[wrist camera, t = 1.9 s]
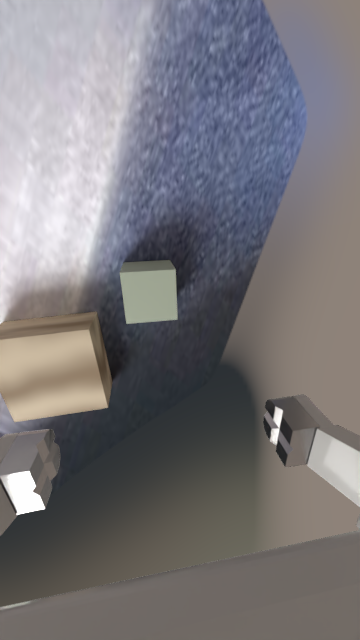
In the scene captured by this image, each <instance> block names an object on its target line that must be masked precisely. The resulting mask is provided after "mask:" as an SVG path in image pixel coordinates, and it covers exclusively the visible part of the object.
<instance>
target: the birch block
mask: <svg viewBox="0 0 360 640" xmlns="http://www.w3.org/2000/svg"><path fill="white" fill-rule="evenodd" d="M111 387H112V378H111V373H110V369H109V364H108V360H107V355H106V351H105V346H104V342H103V337H102V333H101V328H100V324H99V319H98V315H97V311H96V312H87V313H78V314H69V315H60V316H51V317H42V318H32V319H23V320H14V321H5V322H2V323H1V324H0V392H1V394H2V397H3V399H4V401H5V403H6V405H7V407H8V409H9V411H10V413H11V416H12V418H13V420H14V422H19V421H25V420H32V419H38V418H45V417H51V416H57V415H64V414H70V413H77V412H83V411H90V410H96V409H103V408H108V404H109V399H110V393H111Z"/></svg>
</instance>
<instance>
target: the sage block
mask: <svg viewBox="0 0 360 640" xmlns="http://www.w3.org/2000/svg"><path fill="white" fill-rule="evenodd" d="M120 279H121V286H122V294H123V301H124V309H125V316H126V324H130V323H142V322H154V321H165V320H177V293H176V269H175V268H174V266H173V264H172V263H171V261H170V260H159V261H141V262H123V265H122V268H121V271H120Z"/></svg>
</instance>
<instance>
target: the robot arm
mask: <svg viewBox="0 0 360 640" xmlns="http://www.w3.org/2000/svg"><path fill="white" fill-rule="evenodd" d="M265 408H266V409H267V411H268V412H267V413H266V414H265V416H264V421H263V423H264V429H265V432H266V435H267V436H268V438H269V440H270V441H271V442H272V443H274V444H275V445H277V446H276V452H277V454H278V456H279V458H280V459H281V461H282V463H283V464H284V466H285V467H291V466H298V465H305V464H307V466H308V467H310V468H311V469H312V470H313V471H315V472H316V473H317V474H319V475H320V476H321V477H322V478H323V479H325V480H326V481H327V482H329V483H330V484H331V485H332V486H334V487H335V488H336V489H337V490H339V491H340V492H341V493H343V494H344V495H345V496H347V497H348V498H349V499H350V500H351V501H353V502H354V503H355V504H356V505H358V506H359V507H360V436H359V435H357V434H355V433H353V432H351V431H349V430H347V429H345V428H343V427H341V426H339V425H333V424H332V423H331V421H330V420H329V419H328V418H327V417H326V416H325V415H324V414H323V413H322V412H321V411H320V410H319V409H318V408H317V407H316V406H315V404H314V403H313V402H312V401H311V400H310V399H309V398H308V397H307V396H306V395H296V396H291V397H282V398H276V399H269V400H267V402H266V405H265ZM54 438H55V435H54V432H53V430H51V429H47V430H38V431H29V432H21V433H13V434H5V435H4V436H3V437H1V438H0V536H1V535H2V533H3V532H4V531H5V530H6V529H7V527H8V526H9V525H10V524H11V523H12V521H13V520H14V519H15V518H16V517H17V515H16V514H21V513H26V512H31V511H36V510H41V509H45V507H46V504H47V502H48V498H49V496H50V493H51V490H52V485H51V482H50V481H51V480H52V479H53V478H54V477H55V475H56V474H57V472H58V468H59V464H60V449H59V446H58V445H57V444H55V443H54V442H53V441H54ZM356 525H357V527H358V528H359V529H360V515H359V517H358V519H357V524H356ZM0 640H360V530H359V531H354V532H349V533H344V534H340V535H335V536H331V537H326V538H321V539H316V540H312V541H308V542H302V543H298V544H294V545H288V546H284V547H279V548H274V549H270V550H265V551H260V552H256V553H251V554H247V555H242V556H237V557H232V558H228V559H223V560H218V561H214V562H209V563H204V564H199V565H195V566H191V567H185V568H181V569H176V570H171V571H167V572H162V573H158V574H153V575H148V576H143V577H139V578H134V579H130V580H125V581H120V582H115V583H111V584H106V585H102V586H97V587H92V588H87V589H83V590H78V591H73V592H69V593H64V594H59V595H55V596H50V597H45V598H41V599H36V600H32V601H27V602H22V603H17V604H13V605H8V606H4V607H0Z"/></svg>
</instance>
